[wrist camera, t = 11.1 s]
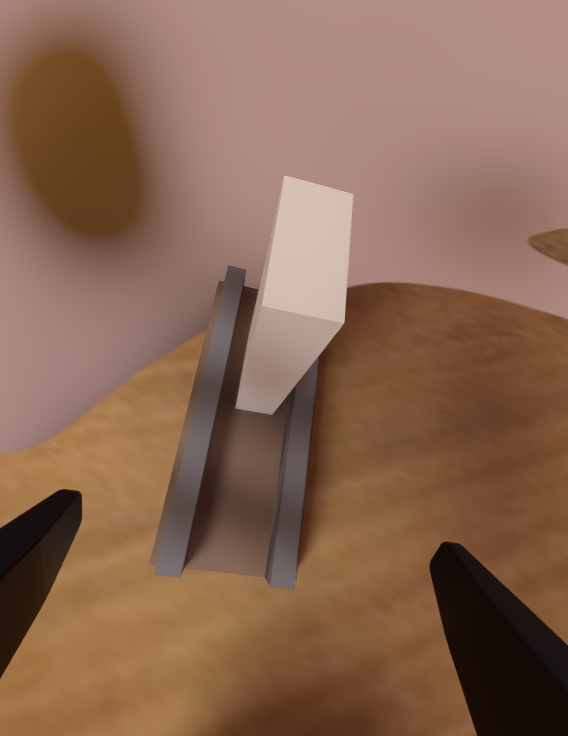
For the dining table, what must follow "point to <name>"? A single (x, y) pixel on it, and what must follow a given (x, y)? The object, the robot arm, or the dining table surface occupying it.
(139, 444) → the dining table surface
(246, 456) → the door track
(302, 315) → the door panel
